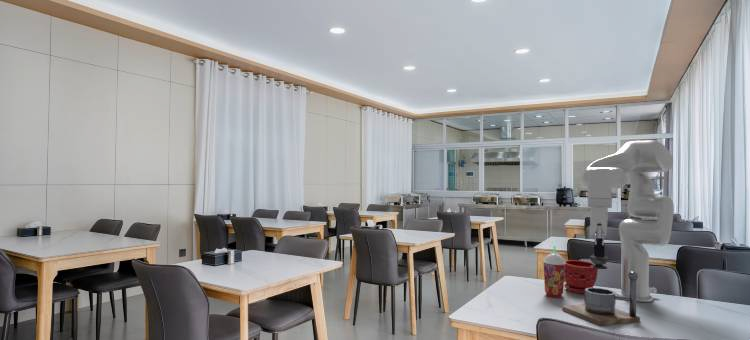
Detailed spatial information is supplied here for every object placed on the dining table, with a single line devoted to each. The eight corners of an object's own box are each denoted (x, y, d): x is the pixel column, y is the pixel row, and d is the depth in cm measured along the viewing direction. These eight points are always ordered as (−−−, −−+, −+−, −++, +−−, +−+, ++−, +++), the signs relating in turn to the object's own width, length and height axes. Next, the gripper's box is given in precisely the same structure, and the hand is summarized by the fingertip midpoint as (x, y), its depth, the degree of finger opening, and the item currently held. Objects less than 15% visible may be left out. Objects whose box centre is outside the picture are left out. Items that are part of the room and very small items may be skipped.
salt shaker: (592, 268, 149) (592, 233, 149) (587, 265, 154) (587, 231, 155) (610, 269, 148) (611, 234, 148) (605, 266, 153) (605, 232, 153)
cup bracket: (599, 306, 161) (599, 262, 161) (640, 321, 145) (640, 272, 145) (562, 310, 156) (562, 264, 156) (600, 326, 140) (600, 274, 140)
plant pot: (559, 291, 181) (559, 263, 181) (567, 285, 192) (567, 258, 192) (593, 297, 173) (594, 267, 173) (600, 290, 184) (600, 262, 184)
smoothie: (566, 295, 176) (567, 246, 176) (563, 299, 169) (563, 248, 169) (545, 291, 180) (545, 244, 181) (540, 296, 173) (541, 246, 174)
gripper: (588, 201, 160) (587, 250, 160) (587, 204, 145) (586, 258, 145) (611, 202, 157) (610, 252, 157) (612, 205, 142) (612, 260, 142)
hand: (599, 255), depth 151 cm, fingers closed on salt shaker, 4 cm apart
